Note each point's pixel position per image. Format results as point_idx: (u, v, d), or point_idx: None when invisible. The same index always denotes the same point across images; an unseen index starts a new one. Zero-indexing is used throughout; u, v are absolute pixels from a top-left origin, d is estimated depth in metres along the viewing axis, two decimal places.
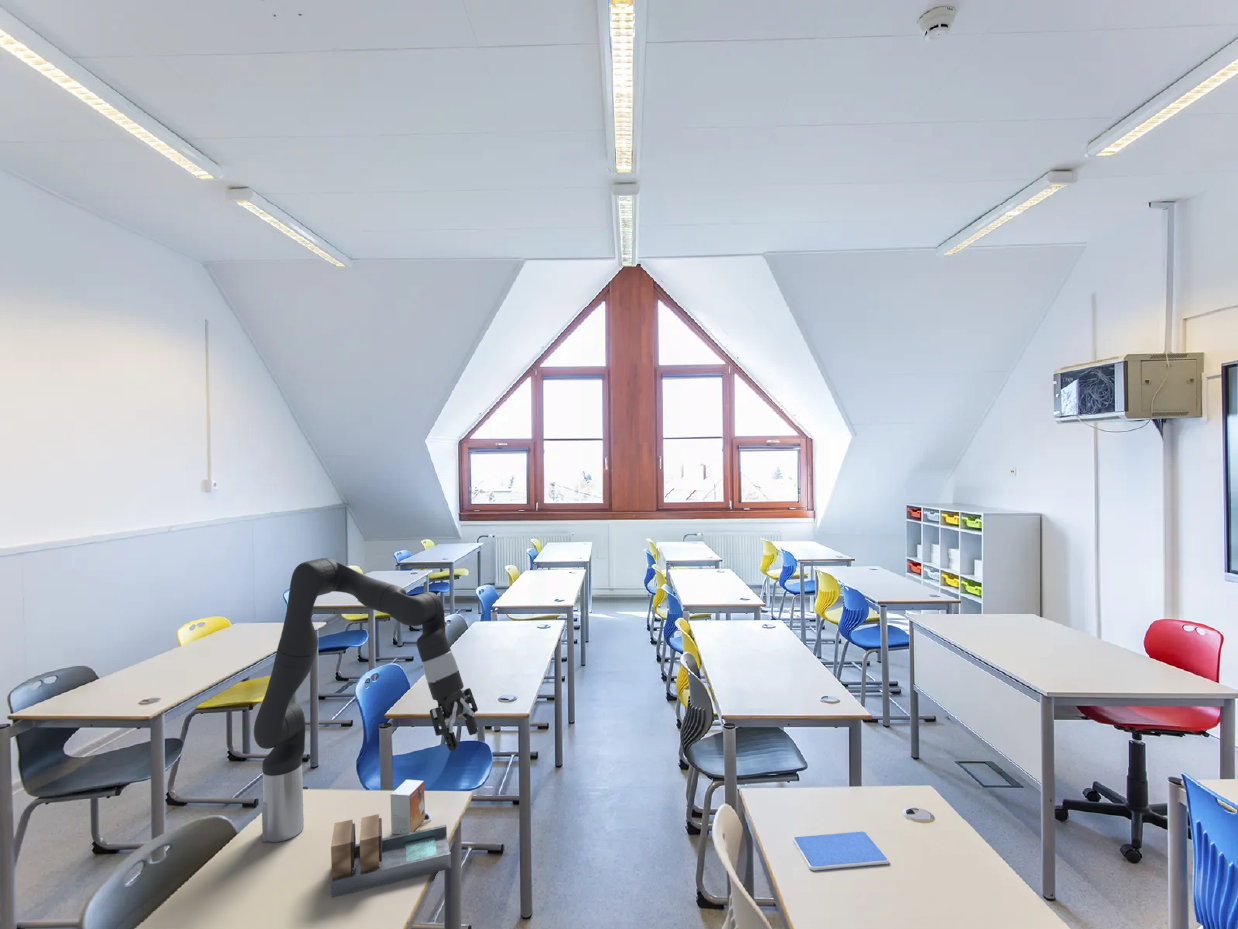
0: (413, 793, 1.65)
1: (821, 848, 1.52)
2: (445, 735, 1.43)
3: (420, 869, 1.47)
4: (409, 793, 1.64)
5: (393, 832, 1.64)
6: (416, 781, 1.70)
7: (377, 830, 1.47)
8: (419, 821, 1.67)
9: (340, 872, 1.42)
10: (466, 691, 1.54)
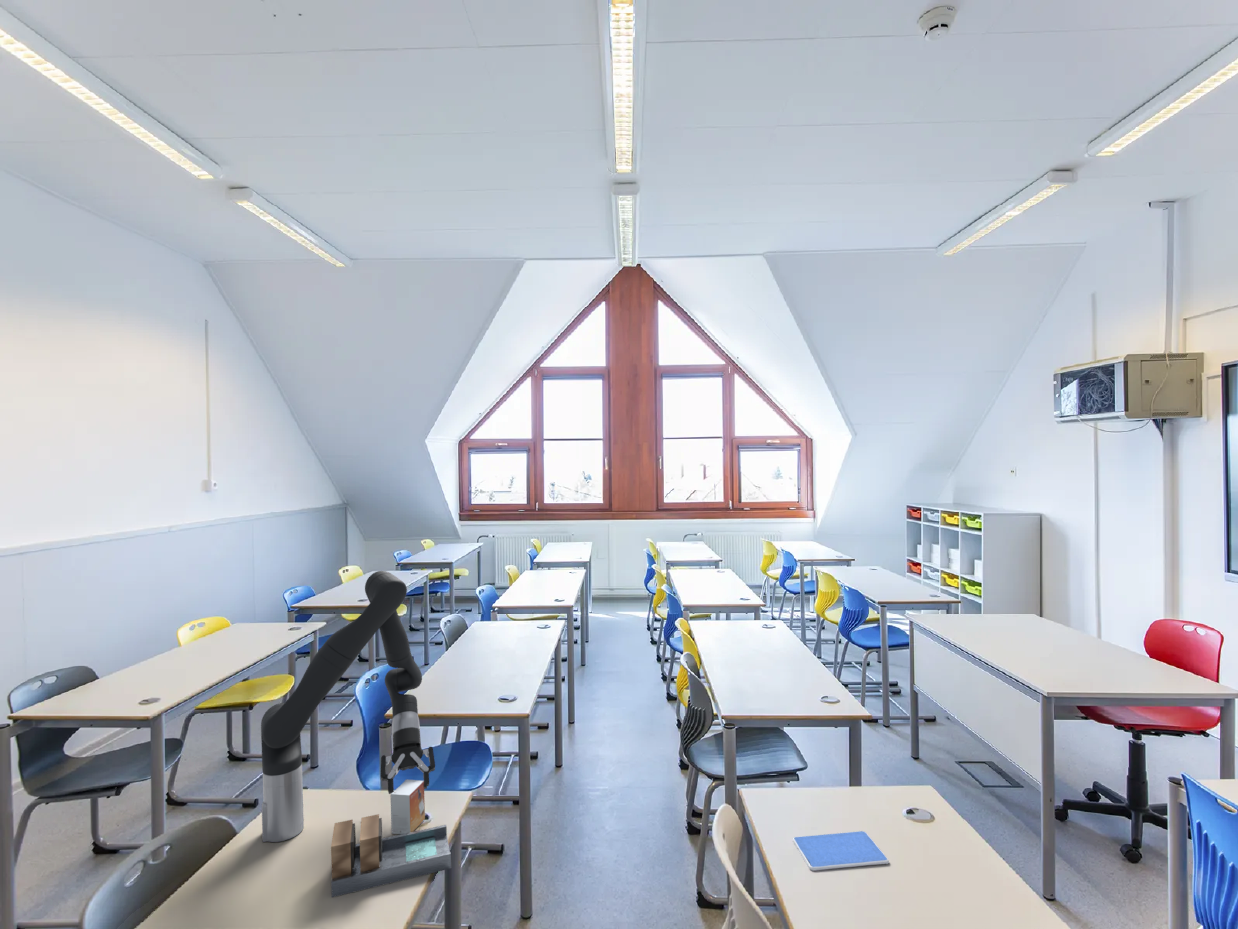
0: (413, 793, 1.65)
1: (821, 848, 1.52)
2: (429, 772, 1.73)
3: (420, 869, 1.47)
4: (409, 793, 1.64)
5: (393, 832, 1.64)
6: (416, 781, 1.70)
7: (377, 830, 1.47)
8: (419, 821, 1.67)
9: (340, 872, 1.42)
10: None
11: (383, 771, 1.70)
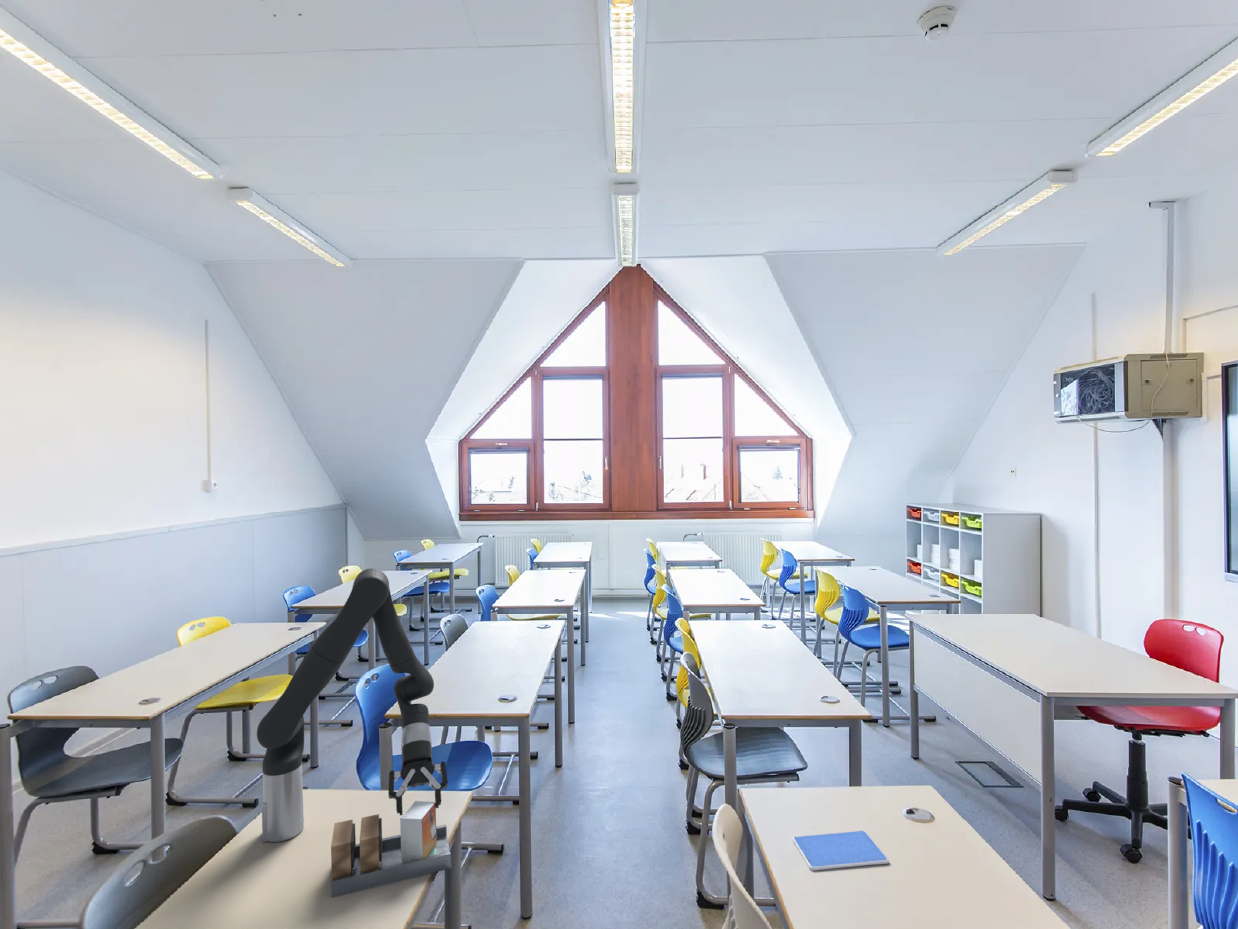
0: (425, 816, 1.51)
1: (821, 848, 1.52)
2: None
3: (420, 869, 1.47)
4: (421, 816, 1.49)
5: (403, 860, 1.49)
6: (427, 803, 1.56)
7: (377, 830, 1.47)
8: (431, 846, 1.53)
9: (340, 872, 1.42)
10: None
11: (391, 788, 1.55)
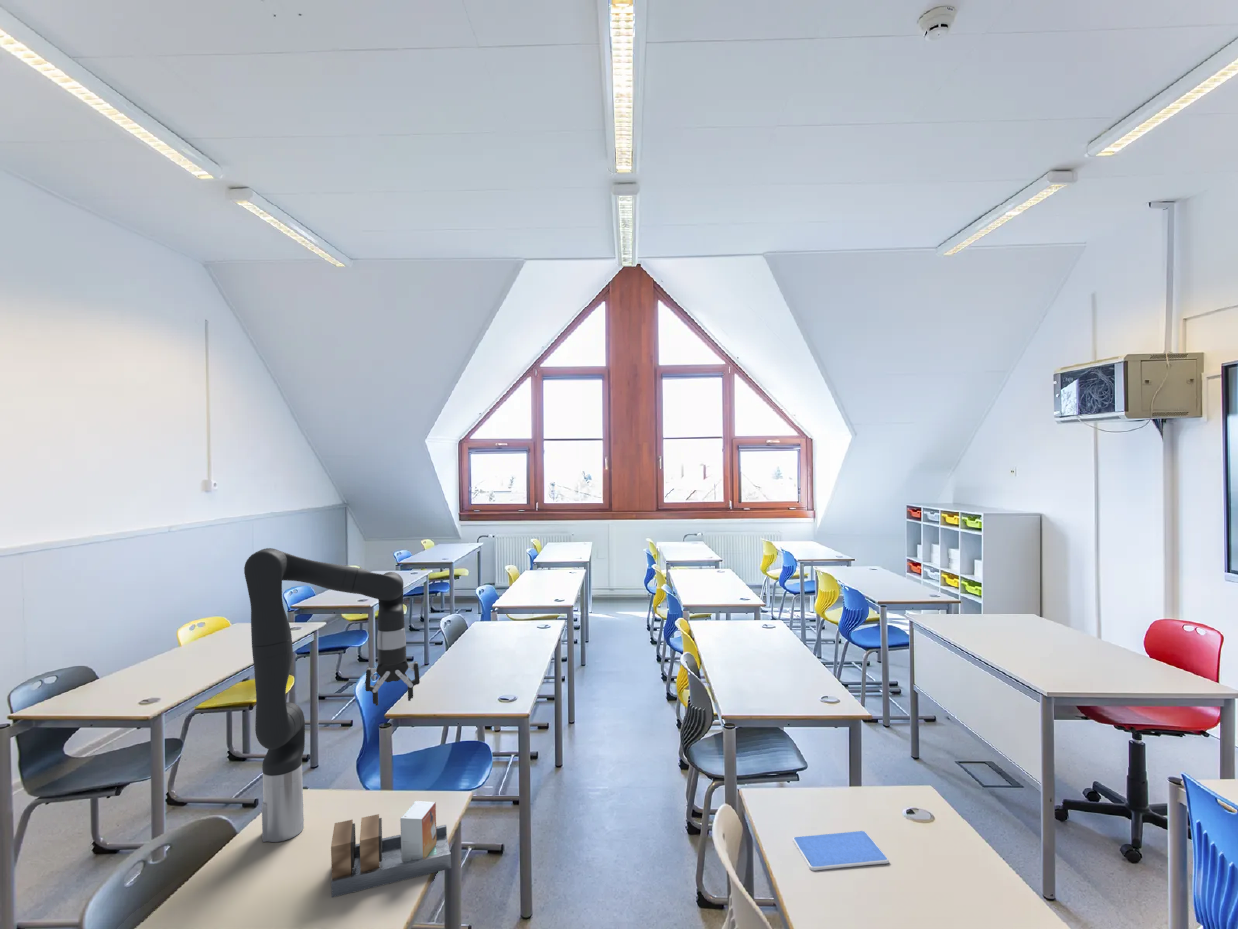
0: (426, 816, 1.51)
1: (821, 848, 1.52)
2: None
3: (420, 869, 1.47)
4: (421, 816, 1.50)
5: (403, 860, 1.49)
6: (427, 802, 1.56)
7: (377, 830, 1.47)
8: (431, 846, 1.53)
9: (340, 872, 1.42)
10: None
11: (368, 685, 1.72)
